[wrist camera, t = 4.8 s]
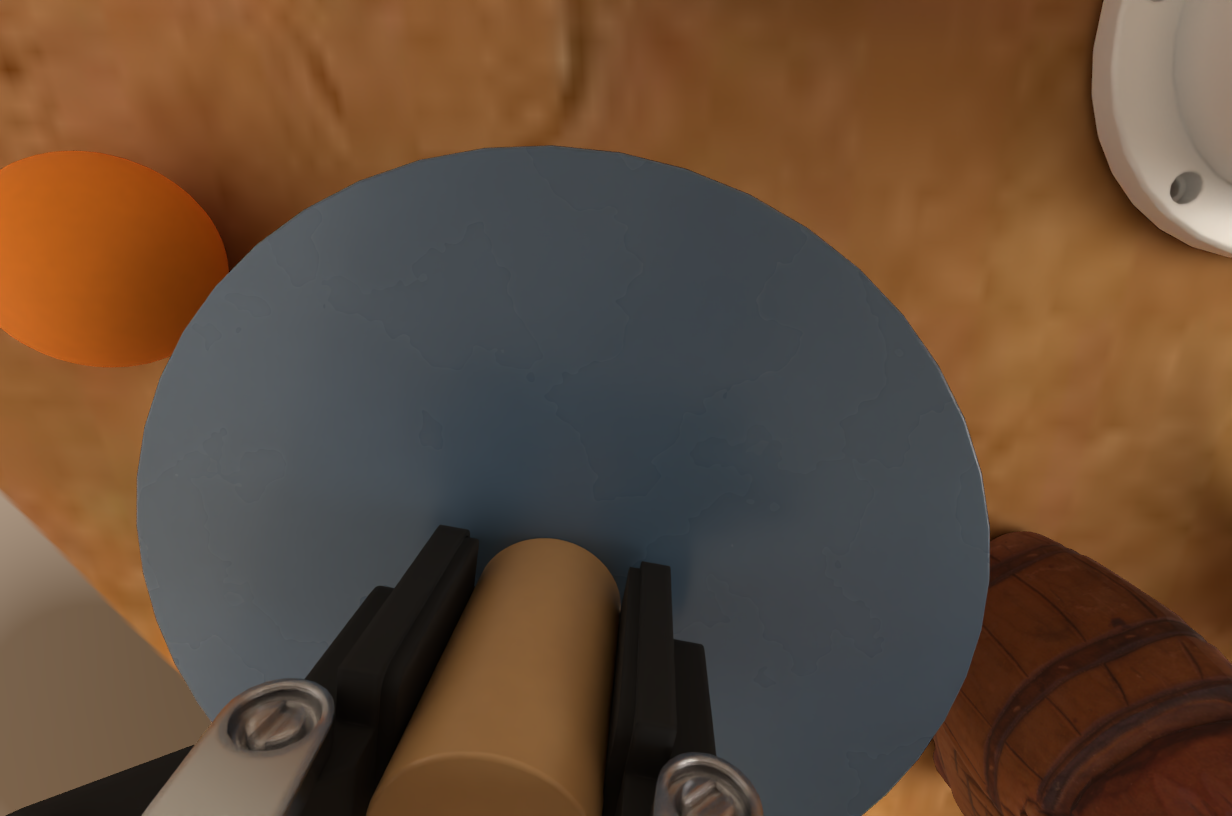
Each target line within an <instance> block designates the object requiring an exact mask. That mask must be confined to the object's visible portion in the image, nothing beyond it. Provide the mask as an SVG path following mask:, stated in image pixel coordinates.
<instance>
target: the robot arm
mask: <svg viewBox="0 0 1232 816" xmlns="http://www.w3.org/2000/svg"><path fill="white" fill-rule="evenodd" d="M1092 102H1093V108H1094V114H1095V121H1096V127H1097V133H1098V138H1099V141H1100V143H1101V146H1102V148H1103V151H1104V154H1105V156H1106V159H1107V162H1108V164H1109V167H1110V169H1111V172H1112V174H1113V176H1114V177H1115V179H1116V180H1117V182H1118V183H1119V185H1120V186H1121V187H1122V189H1123V190H1124V192H1125V193H1126V195H1127V196H1128V198H1129V199H1130V201H1131V202H1132V204H1133V205H1134V206H1135V207H1136V208H1137V209H1138V210H1140V211H1141V212H1142V213H1143V214H1144V215H1145V216H1146V217H1147V218H1148V219H1149V220H1150V221H1152V222H1153V223H1154V224H1155V225H1156V226H1157V227H1158V228H1159V229H1161V230H1162V231H1164V232H1166V233H1168V234H1170V235H1171V236H1173V237H1175V238H1177V239H1179V240H1180V241H1182V242H1184V243H1186V244H1188V245H1189V246H1191V247H1194V248H1198V249H1201V250H1205V251H1208V252H1212V253H1215V254H1219V255H1222V256H1225V257H1232V0H1104V1H1103V5H1102V10H1101V15H1100V20H1099V24H1098V29H1097V34H1096V38H1095V43H1094V48H1093V67H1092ZM478 549H479V540H478V539H475V538H470V531H469V530H468V529H463V528H457V527H452V526H446V525H439V526H438V527H437V529H436V530H435V531H434V533H433V534H432V536H431V537H430V539H429V540H428V541H427V543H426V544H425V546H424V547H423V548H422V550H421V551H420V553H419V554H418V556H417V557H416V558H415V560H414V561H413V563H412V564H411V565H410V567H409V568H408V570H407V571H406V572H405V574H404V575H403V577H402V578H401V580H400V581H399V582H398V584H397V585H396V587H395V588H392V587H386V586H381V585H380V586H376V587H375V588H374V589H373V590H372V591H371V592H370V594H369V595H368V596H367V598H366V599H365V600H364V602H363V603H362V604H361V606H360V607H359V608H358V610H357V611H356V612H355V613H354V615H353V616H352V617H351V619H350V620H349V621H348V623H347V624H346V625H345V627H344V628H343V629H342V630H341V632H340V633H339V634H338V636H337V637H336V638H335V640H334V641H333V642H332V644H331V645H330V646H329V648H328V649H327V650H326V651H325V653H324V654H323V655H322V657H321V658H320V659H319V661H318V662H317V663H316V665H315V666H314V667H313V668H312V670H311V671H310V672H309V674H308V675H307V676H306V678H305V679H301V678H282V679H277V680H272V681H267V682H264V683H261V684H259V685H256V686H254V687H251V688H248V689H247V690H245V691H244V692H242V693H241V694H239V695H237V696H236V697H234V698H233V699H232V700H231V701H230V702H229V703H228V704H227V705H226V706H225V707H224V708H223V709H222V710H221V711H220V712H219V714H218V715H217V716H216V718H215V719H214V720H213V722H212V723H211V724H210V726H209V727H208V728H207V730H206V731H205V732H204V733H203V735H202V736H201V738H200V739H199V740H198V741H197V743H196V744H195V745H192V746H189V747H186V748H184V749H181V750H178V751H176V752H173V753H170V754H168V755H165V756H162V757H160V758H157V759H154V760H151V761H149V762H146V763H143V764H140V765H138V766H135V767H133V768H130V769H127V770H124V771H122V772H119V773H116V774H113V775H111V776H108V777H106V778H103V779H100V780H97V781H94V782H92V783H89V784H86V785H84V786H81V787H78V788H76V789H73V790H70V791H68V792H65V793H62V794H59V795H57V796H54V797H51V798H49V799H46V800H43V801H40V802H38V803H35V804H32V805H29V806H27V807H24V808H21V809H19V810H17V811H15V812H13V813H11V814H8V815H6V816H366V812H367V809H368V806H369V803H370V800H371V798H372V796H373V794H374V792H375V790H376V788H377V786H378V784H379V782H380V780H381V778H382V776H383V774H384V772H385V770H386V768H387V766H388V764H389V762H390V760H391V758H392V756H393V753H394V751H395V749H396V747H397V745H398V743H399V741H400V739H401V737H402V735H403V733H404V731H405V729H406V727H407V725H408V723H409V721H410V719H411V717H412V715H413V713H414V711H415V709H416V707H417V705H418V702H419V700H420V698H421V696H422V694H423V692H424V690H425V688H426V686H427V684H428V682H429V680H430V678H431V676H432V674H433V672H434V670H435V668H436V666H437V664H438V662H439V660H440V658H441V656H442V654H443V652H444V649H445V647H446V645H447V643H448V641H449V639H450V637H451V635H452V633H453V631H454V629H455V627H456V625H457V623H458V621H459V619H460V617H461V615H462V613H463V611H464V609H465V607H466V605H467V603H468V601H469V599H470V596H471V594H472V592H473V590H474V584H475V575H476V566H477V558H478ZM602 816H764V815H763V808H762V804H761V800H760V797H759V794H758V793H757V791H756V789H755V787H754V786H753V784H752V782H751V781H750V780H749V779H748V778H747V777H746V776H745V775H744V774H743V773H742V771H741V770H740V769H738V768H737V767H735V766H734V765H732V764H731V763H729V762H728V761H726V760H725V759H722V758H719V757H717V756H716V747H715V738H714V729H713V720H712V712H711V703H710V694H709V685H708V676H707V667H706V658H705V650H704V646H703V645H702V644H698V643H693V642H687V641H682V640H676V639H673V615H672V590H671V568H670V566H667V565H661V564H656V563H650V562H645V561H642V562H641V565H640V568H634V567H629V571H628V576H627V581H626V586H625V591H624V596H623V601H622V606H621V611H620V616H619V626H618V637H617V648H616V659H615V669H614V680H613V691H612V702H611V713H610V724H609V734H608V745H607V756H606V767H605V778H604V789H603V811H602Z"/></svg>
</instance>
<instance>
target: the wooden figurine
mask: <svg viewBox="0 0 1232 816" xmlns="http://www.w3.org/2000/svg"><path fill="white" fill-rule="evenodd" d="M933 738H934V742H935V746H936V747H935V750H934V753H933V760H934V763H935V766H936V769H937V771H938V772H939V773H940V775H941V776H942V778H943V779H944V781H945V782H946V783H947V784H948V786H949V787H950V788H951V790H952V794H953V797H954V799H955V801H956V803H957V805H958V807H959V808H960V810H961V812H962V813H963V814H964V816H1232V664H1231V663H1230V662H1229V661H1228V660H1227V659H1226V658H1225V657H1224V655H1223V654H1222V653H1221V652H1220V651H1219V650H1218V649H1217V648H1216V647H1215V646H1213V645H1211V644H1209V643H1207V641H1206V640H1205V639H1204V638H1203V637H1202V636H1201V635H1199V634H1198V633H1197V632H1196V631H1194V630H1193V629H1192V628H1191V627H1190V626H1188V625H1187V624H1186V622H1185V621H1184V620H1183V619H1182V618H1181V617H1179V616H1178V615H1177V614H1175V613H1174V612H1173V611H1171V610H1170V609H1168V608H1167V607H1165V606H1164V605H1162V604H1161V603H1159V602H1158V601H1156V600H1155V599H1153V598H1152V597H1150V596H1149V595H1147V594H1146V593H1144V592H1142V591H1141V590H1140V589H1138V588H1137V587H1135V586H1134V585H1132V584H1131V583H1129V582H1128V581H1126V580H1124V579H1123V578H1121V577H1120V576H1118V575H1117V574H1115V573H1114V572H1112V571H1111V570H1109V569H1107V568H1106V567H1104V566H1103V565H1101V564H1099V563H1098V562H1096V561H1094V560H1093V559H1091V558H1089V557H1087V556H1084V555H1080V554H1079V553H1077V552H1076V551H1074V550H1072V549H1069V548H1066V547H1064V546H1063V545H1062V544H1060V543H1058V542H1055V541H1053V540H1051V539H1049V538H1047V537H1045V536H1043V535H1040V534H1037V533H1033V532H1013V533H1007V534H1004V535H1001V536H999V537H997V538H995V539H993V540H991V541H990V576H989V586H988V592H987V598H986V604H985V611H984V617H983V623H982V629H981V633H980V636H979V639H978V642H977V645H976V648H975V651H974V654H973V657H972V661H971V664H970V667H969V670H968V673H967V676H966V678H965V680H964V682H963V685H962V687H961V689H960V691H959V693H958V695H957V697H956V699H955V701H954V703H953V705H952V707H951V709H950V711H949V713H948V715H947V717H946V719H945V721H944V722H943V724H942V725H941V727H940V728H939V730H938V731H937V733H936V734H935V735H934V737H933Z"/></svg>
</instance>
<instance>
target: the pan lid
mask: <svg viewBox="0 0 1232 816" xmlns="http://www.w3.org/2000/svg"><path fill="white" fill-rule="evenodd" d="M439 525H446V526H452V527H457V528H463V529H468V530H469V531H470V538H475V539H478V540H479V549H478V558H477V566H476V575H475V584H474V590H473V592H472V594H471V596H470V599H469V601H468V603H467V605H466V607H465V609H464V611H463V613H462V615H461V617H460V619H459V621H458V623H457V625H456V627H455V629H454V631H453V633H452V635H451V637H450V639H449V641H448V643H447V645H446V647H445V649H444V652H443V654H442V656H441V658H440V660H439V662H438V664H437V666H436V668H435V670H434V672H433V674H432V676H431V678H430V680H429V682H428V684H427V686H426V688H425V690H424V692H423V694H422V696H421V698H420V700H419V702H418V705H417V707H416V709H415V711H414V713H413V715H412V717H411V719H410V721H409V723H408V725H407V727H406V729H405V731H404V733H403V735H402V737H401V739H400V741H399V743H398V745H397V747H396V749H395V751H394V753H393V756H392V758H391V760H390V762H389V764H388V766H387V768H386V770H385V772H384V774H383V776H382V778H381V780H380V782H379V784H378V786H377V788H376V790H375V792H374V794H373V796H372V798H371V800H370V803H369V806H368V809H367V812H366V816H602V811H603V789H604V778H605V767H606V756H607V745H608V734H609V724H610V713H611V702H612V691H613V680H614V669H615V659H616V648H617V637H618V626H619V616H620V611H621V606H622V601H623V596H624V591H625V586H626V581H627V576H628V571H629V567H634V568H640V565H641V562H642V561H645V562H650V563H656V564H661V565H667V566H670V568H671V590H672V615H673V639H676V640H682V641H687V642H693V643H698V644H702V645H703V646H704V650H705V658H706V667H707V676H708V685H709V694H710V703H711V712H712V720H713V729H714V738H715V747H716V756H717V757H719V758H722V759H725V760H726V761H728V762H729V763H731V764H732V765H734V766H735V767H737V768H738V769H740V770H741V771H742V773H743V774H744V775H745V776H746V777H747V778H748V779H749V780H750V781H751V782H752V784H753V786H754V787H755V789H756V791H757V793H758V794H759V797H760V800H761V804H762V808H763V815H764V816H862V815H863V814H864V813H866V812H867V811H868V810H869V809H870V808H871V807H872V806H874V805H875V804H876V803H877V802H878V801H879V800H881V799H882V798H883V797H884V796H885V795H886V794H887V793H888V792H889V791H890V790H891V789H892V788H893V787H894V786H895V785H896V783H897V782H898V781H899V780H900V779H901V778H902V777H903V776H904V775H905V773H906V772H907V771H908V770H909V769H910V768H911V767H912V766H913V765H914V763H915V762H916V761H917V760H918V759H919V757H920V756H921V755H922V753H923V752H924V750H925V749H926V747H927V746H928V744H929V743H930V741H931V740H932V738H933V737H934V735H935V734H936V733H937V731H938V730H939V728H940V727H941V725H942V724H943V722H944V721H945V719H946V717H947V715H948V713H949V711H950V709H951V707H952V705H953V703H954V701H955V699H956V697H957V695H958V693H959V691H960V689H961V687H962V685H963V682H964V680H965V678H966V676H967V673H968V670H969V667H970V664H971V661H972V657H973V654H974V651H975V648H976V645H977V642H978V639H979V636H980V633H981V629H982V623H983V617H984V611H985V604H986V598H987V592H988V586H989V576H990V525H989V519H988V512H987V505H986V499H985V492H984V485H983V479H982V472H981V469H980V466H979V463H978V460H977V456H976V453H975V450H974V447H973V444H972V440H971V437H970V434H969V431H968V428H967V424H966V421H965V418H964V416H963V414H962V412H961V410H960V408H959V406H958V404H957V402H956V400H955V398H954V396H953V394H952V392H951V390H950V388H949V386H948V384H947V382H946V380H945V378H944V376H943V374H942V372H941V370H940V368H939V366H938V364H937V363H936V361H935V360H934V358H933V357H932V355H931V354H930V353H929V351H928V350H927V348H926V347H925V345H924V344H923V343H922V341H921V340H920V338H919V337H918V335H917V334H916V333H915V331H914V330H913V328H912V327H911V325H910V324H909V323H908V321H907V320H906V318H905V317H904V315H903V314H902V313H901V312H900V311H899V310H898V309H897V308H896V307H895V306H894V305H893V304H892V303H891V302H890V301H889V299H888V298H887V297H886V296H885V295H884V294H883V293H882V292H881V291H880V290H879V289H878V288H877V287H876V286H875V285H874V284H873V283H872V281H871V280H870V279H869V278H868V277H867V276H866V275H865V274H864V273H863V272H862V271H861V270H860V269H859V268H858V267H857V266H855V265H854V264H853V263H851V262H850V261H849V260H848V259H846V258H845V257H844V256H843V255H841V254H840V253H839V252H838V251H836V250H835V249H834V248H832V247H831V246H830V245H829V244H827V243H826V242H825V241H824V240H822V239H821V238H820V237H819V236H817V235H816V234H815V233H813V232H812V231H811V230H810V229H808V228H807V227H805V226H803V225H802V224H800V223H798V222H796V221H795V220H793V219H791V218H789V217H788V216H786V215H784V214H783V213H781V212H779V211H777V210H776V209H774V208H772V207H771V206H769V205H767V204H765V203H764V202H762V201H760V200H758V199H757V198H755V197H753V196H752V195H750V194H747V193H745V192H742V191H740V190H737V189H735V188H732V187H730V186H727V185H725V184H723V183H720V182H718V181H715V180H713V179H710V178H708V177H705V176H703V175H700V174H698V173H695V172H693V171H690V170H688V169H685V168H681V167H677V166H673V165H669V164H665V163H661V162H657V161H653V160H649V159H644V158H640V157H636V156H632V155H628V154H624V153H620V152H611V151H602V150H592V149H582V148H573V147H563V146H553V145H548V146H522V147H497V148H482V149H476V150H471V151H465V152H460V153H455V154H449V155H444V156H438V157H433V158H428V159H422V160H418V161H415V162H412V163H409V164H406V165H404V166H401V167H398V168H395V169H392V170H389V171H386V172H383V173H380V174H377V175H374V176H371V177H369V178H366V179H363V180H360V181H358V182H356V183H354V184H352V185H350V186H348V187H346V188H344V189H342V190H340V191H338V192H337V193H335V194H333V195H331V196H329V197H327V198H325V199H323V200H321V201H319V202H317V203H315V204H314V205H312V206H310V207H308V208H306V209H304V210H303V211H301V212H300V213H299V214H297V215H296V216H295V217H293V218H292V219H291V220H289V221H288V222H286V223H285V224H284V225H282V226H281V227H280V228H278V229H277V230H276V231H274V232H273V233H272V234H270V235H269V236H267V237H266V238H265V239H263V240H262V241H261V242H259V243H258V244H257V245H256V246H255V247H254V248H253V249H252V250H251V251H250V252H249V253H248V254H247V255H246V256H245V257H244V258H243V259H242V260H241V261H240V262H239V263H238V264H237V265H236V266H235V267H234V268H233V269H232V270H231V271H230V272H229V273H228V274H227V275H226V276H225V277H224V278H223V279H222V280H221V281H220V282H219V283H218V284H217V285H216V286H215V288H214V289H213V291H212V292H211V293H210V295H209V296H208V297H207V299H206V300H205V302H204V303H203V304H202V306H201V307H200V309H199V310H198V311H197V313H196V314H195V316H194V317H193V318H192V320H191V321H190V323H189V324H188V325H187V327H186V328H185V330H184V331H183V333H182V335H181V337H180V339H179V341H178V343H177V345H176V347H175V349H174V351H173V353H172V355H171V357H170V359H169V361H168V363H167V365H166V367H165V369H164V371H163V373H162V375H161V377H160V380H159V383H158V386H157V389H156V393H155V396H154V399H153V402H152V405H151V408H150V412H149V415H148V418H147V421H146V424H145V427H144V434H143V440H142V447H141V453H140V460H139V466H138V473H137V532H138V539H139V546H140V554H141V561H142V568H143V574H144V578H145V582H146V585H147V589H148V592H149V596H150V599H151V603H152V607H153V610H154V614H155V617H156V621H157V623H158V625H159V628H160V630H161V632H162V635H163V637H164V639H165V642H166V644H167V646H168V649H169V651H170V654H171V656H172V658H173V661H174V663H175V665H176V667H177V668H178V670H179V672H180V673H181V675H182V677H183V679H184V680H185V682H186V684H187V686H188V687H189V689H190V691H191V693H192V694H193V696H194V698H195V699H196V701H197V703H198V705H199V706H200V707H201V709H202V710H203V711H204V713H205V714H206V715H207V717H208V718H209V719H210V721H211V722H213V720H214V719H215V718H216V716H217V715H218V714H219V712H220V711H221V710H222V709H223V708H224V707H225V706H226V705H227V704H228V703H229V702H230V701H231V700H232V699H233V698H234V697H236V696H237V695H239V694H241V693H242V692H244V691H245V690H247V689H248V688H251V687H254V686H256V685H259V684H261V683H264V682H267V681H272V680H277V679H282V678H301V679H305V678H306V676H307V675H308V674H309V672H310V671H311V670H312V668H313V667H314V666H315V665H316V663H317V662H318V661H319V659H320V658H321V657H322V655H323V654H324V653H325V651H326V650H327V649H328V648H329V646H330V645H331V644H332V642H333V641H334V640H335V638H336V637H337V636H338V634H339V633H340V632H341V630H342V629H343V628H344V627H345V625H346V624H347V623H348V621H349V620H350V619H351V617H352V616H353V615H354V613H355V612H356V611H357V610H358V608H359V607H360V606H361V604H362V603H363V602H364V600H365V599H366V598H367V596H368V595H369V594H370V592H371V591H372V590H373V589H374V588H375V587H376V586H380V585H381V586H386V587H392V588H395V587H396V585H397V584H398V582H399V581H400V580H401V578H402V577H403V575H404V574H405V572H406V571H407V570H408V568H409V567H410V565H411V564H412V563H413V561H414V560H415V558H416V557H417V556H418V554H419V553H420V551H421V550H422V548H423V547H424V546H425V544H426V543H427V541H428V540H429V539H430V537H431V536H432V534H433V533H434V531H435V530H436V529H437V527H438V526H439Z"/></svg>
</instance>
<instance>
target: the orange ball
mask: <svg viewBox="0 0 1232 816" xmlns="http://www.w3.org/2000/svg"><path fill="white" fill-rule="evenodd" d="M228 273H229V268H228V260H227V255H226V251H225V248H224V245H223V242H222V239H221V237H220V235H219V233H218V230H217V229H216V227H215V225H214V224H213V222H212V220H211V219H210V217H209V216H208V215H207V213H206V212H205V211H204V209H203V208H202V207H201V206H200V205H199V204H198V203H197V202H196V201H195V200H194V199H193V198H192V197H191V196H190V195H189V194H188V193H187V192H185V191H184V190H183V189H182V188H181V187H179V186H178V185H177V184H175V183H174V182H172V181H171V180H169V179H168V178H166V177H164V176H163V175H161V174H159V173H157V172H156V171H154V170H152V169H150V168H148V167H145V166H143V165H140V164H138V163H135V162H132V161H130V160H127V159H124V158H120V157H116V156H112V155H107V154H103V153H96V152H87V151H58V152H49V153H43V154H38V155H34V156H30V157H27V158H24V159H21V160H19V161H16V162H13V163H11V164H9V165H7V166H6V167H4V168H2V169H0V328H1V329H3V330H4V331H5V332H7V333H8V334H9V335H10V336H12V337H13V338H15V339H16V340H18V341H20V342H21V343H23V344H25V345H27V346H29V347H31V348H33V349H35V350H37V351H39V352H41V353H43V354H46V355H48V356H51V357H54V358H57V359H60V360H64V361H67V362H71V363H76V364H80V365H88V366H96V367H129V366H136V365H142V364H147V363H151V362H155V361H158V360H161V359H164V358H166V357H169V356H171V355H172V353H173V351H174V349H175V347H176V345H177V343H178V341H179V339H180V337H181V335H182V333H183V331H184V330H185V328H186V327H187V325H188V324H189V323H190V321H191V320H192V318H193V317H194V316H195V314H196V313H197V311H198V310H199V309H200V307H201V306H202V304H203V303H204V302H205V300H206V299H207V297H208V296H209V295H210V293H211V292H212V291H213V289H214V288H215V286H216V285H217V284H218V283H219V282H220V281H221V280H222V279H223V278H224V277H225V276H226V275H227V274H228Z"/></svg>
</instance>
